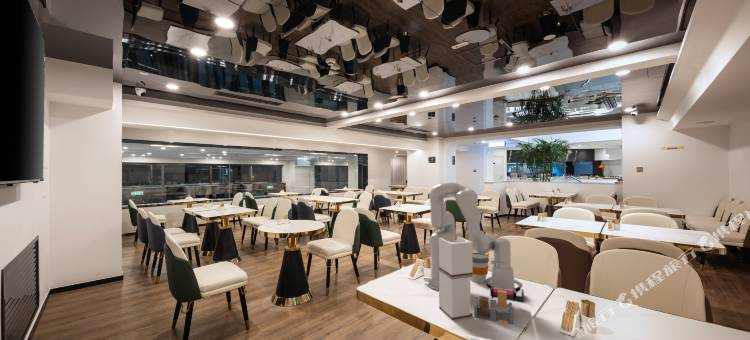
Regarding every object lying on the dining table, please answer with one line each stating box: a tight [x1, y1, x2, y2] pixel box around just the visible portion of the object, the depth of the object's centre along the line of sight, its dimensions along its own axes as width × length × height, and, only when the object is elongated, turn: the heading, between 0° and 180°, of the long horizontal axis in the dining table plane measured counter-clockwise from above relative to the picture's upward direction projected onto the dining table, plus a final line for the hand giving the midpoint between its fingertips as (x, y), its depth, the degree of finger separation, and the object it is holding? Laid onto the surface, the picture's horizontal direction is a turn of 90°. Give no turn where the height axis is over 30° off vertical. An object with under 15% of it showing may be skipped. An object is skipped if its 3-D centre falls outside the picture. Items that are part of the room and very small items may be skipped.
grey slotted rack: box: [473, 296, 514, 325], centre depth 135 cm, size 16×10×6 cm, turn 68°
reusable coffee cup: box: [470, 252, 490, 284], centre depth 179 cm, size 13×13×15 cm
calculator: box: [490, 288, 525, 303], centre depth 156 cm, size 11×4×15 cm
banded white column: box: [438, 235, 474, 321], centre depth 138 cm, size 11×11×35 cm
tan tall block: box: [497, 290, 508, 308], centre depth 146 cm, size 4×4×7 cm
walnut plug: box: [478, 295, 490, 316], centre depth 137 cm, size 4×4×7 cm
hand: (503, 298), depth 145 cm, fingers open, 9 cm apart
